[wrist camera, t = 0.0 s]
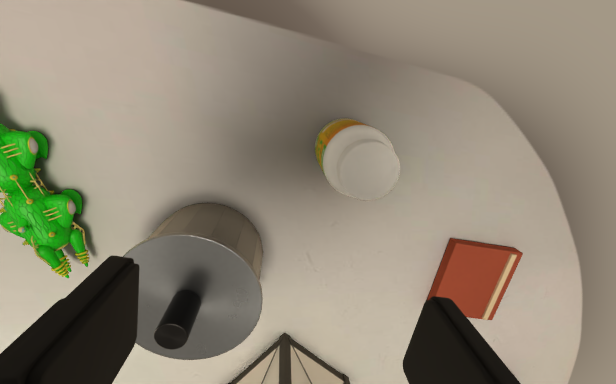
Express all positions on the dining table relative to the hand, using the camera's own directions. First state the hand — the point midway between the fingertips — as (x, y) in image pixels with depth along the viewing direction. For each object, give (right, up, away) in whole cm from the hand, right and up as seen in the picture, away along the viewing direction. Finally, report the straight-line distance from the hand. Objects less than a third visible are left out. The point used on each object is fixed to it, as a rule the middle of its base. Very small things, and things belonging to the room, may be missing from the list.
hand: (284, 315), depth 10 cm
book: (+19, -6, +25) cm, 32 cm away
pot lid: (-9, -4, +14) cm, 17 cm away
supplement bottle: (+4, +8, +19) cm, 21 cm away
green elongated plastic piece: (-24, +5, +18) cm, 30 cm away
